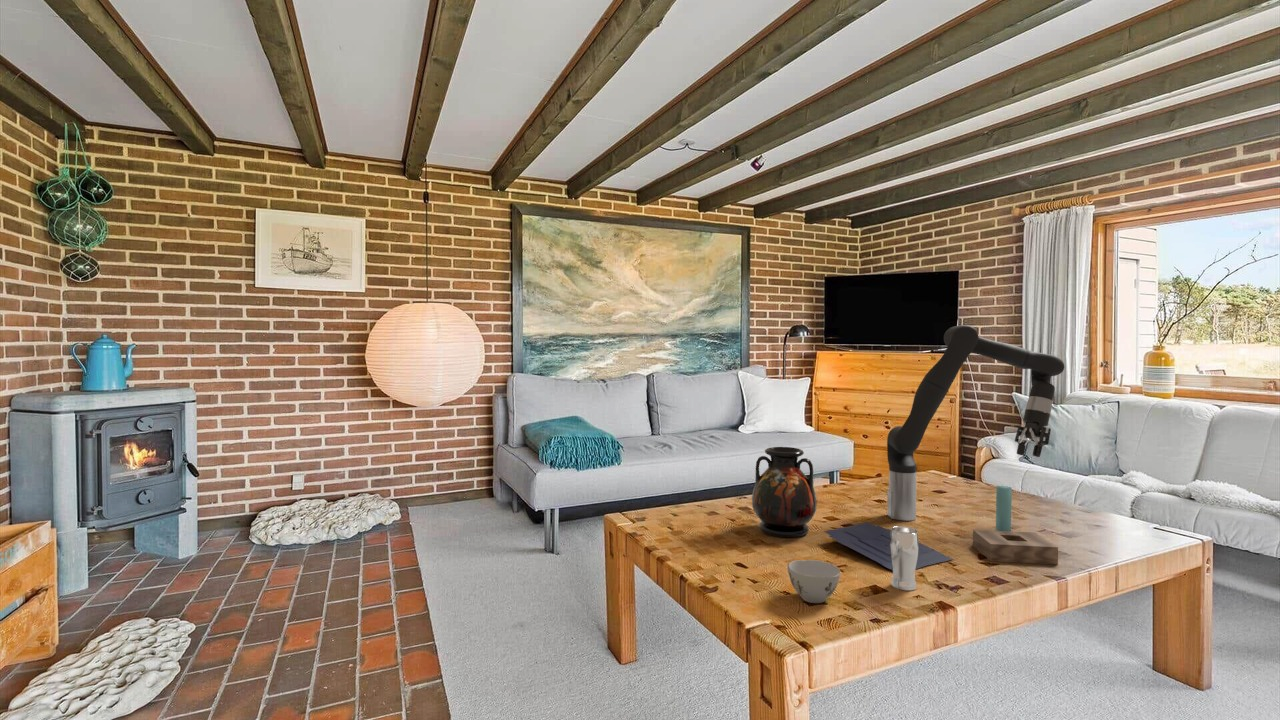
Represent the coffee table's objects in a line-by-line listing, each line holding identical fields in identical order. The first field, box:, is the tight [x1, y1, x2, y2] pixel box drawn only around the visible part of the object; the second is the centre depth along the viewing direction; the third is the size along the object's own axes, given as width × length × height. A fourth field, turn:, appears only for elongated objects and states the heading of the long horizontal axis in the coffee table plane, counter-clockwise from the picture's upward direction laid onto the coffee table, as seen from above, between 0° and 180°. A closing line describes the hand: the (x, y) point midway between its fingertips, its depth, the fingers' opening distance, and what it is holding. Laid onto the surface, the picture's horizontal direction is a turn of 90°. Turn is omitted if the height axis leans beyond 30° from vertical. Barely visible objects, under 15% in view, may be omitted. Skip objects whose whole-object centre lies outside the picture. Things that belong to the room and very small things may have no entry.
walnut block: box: [972, 529, 1059, 565], centre depth 183 cm, size 18×14×5 cm
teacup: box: [787, 559, 841, 604], centre depth 153 cm, size 15×12×8 cm
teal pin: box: [995, 485, 1013, 531], centre depth 202 cm, size 4×4×16 cm
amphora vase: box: [751, 446, 818, 539], centre depth 206 cm, size 22×22×28 cm
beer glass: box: [890, 525, 920, 592], centre depth 159 cm, size 7×7×15 cm
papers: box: [823, 521, 954, 571], centre depth 186 cm, size 24×30×4 cm
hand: (1027, 455), depth 213 cm, fingers open, 8 cm apart
